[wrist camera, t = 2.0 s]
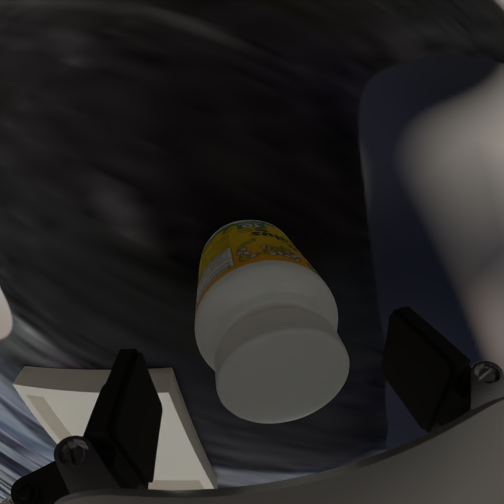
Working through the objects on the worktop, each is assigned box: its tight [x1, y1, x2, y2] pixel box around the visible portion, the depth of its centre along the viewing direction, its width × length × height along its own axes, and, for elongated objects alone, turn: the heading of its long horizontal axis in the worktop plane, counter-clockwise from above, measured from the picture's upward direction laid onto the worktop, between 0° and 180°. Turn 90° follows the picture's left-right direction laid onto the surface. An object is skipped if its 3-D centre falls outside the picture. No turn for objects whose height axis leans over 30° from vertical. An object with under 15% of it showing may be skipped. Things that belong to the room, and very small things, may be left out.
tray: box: [13, 366, 217, 490], centre depth 20 cm, size 18×14×2 cm
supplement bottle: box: [195, 220, 349, 423], centre depth 12 cm, size 5×5×10 cm
